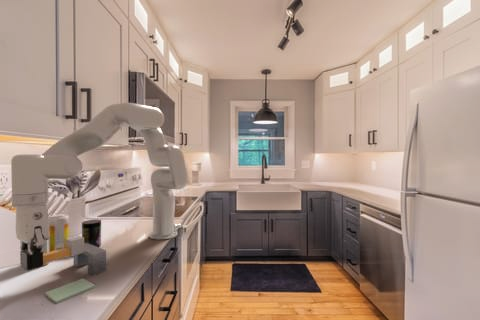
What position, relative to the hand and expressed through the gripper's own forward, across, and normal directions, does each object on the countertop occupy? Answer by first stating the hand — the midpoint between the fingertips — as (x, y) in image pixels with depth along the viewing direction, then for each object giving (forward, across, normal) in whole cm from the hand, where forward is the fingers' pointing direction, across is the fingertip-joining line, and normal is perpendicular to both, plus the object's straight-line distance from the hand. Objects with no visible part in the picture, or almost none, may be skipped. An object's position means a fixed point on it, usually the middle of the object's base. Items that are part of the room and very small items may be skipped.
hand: (31, 264), depth 65 cm
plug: (0, 0, -5) cm, 5 cm away
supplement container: (+7, +19, -24) cm, 32 cm away
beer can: (+7, +20, -13) cm, 25 cm away
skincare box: (+7, +17, -6) cm, 19 cm away
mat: (+6, -11, -5) cm, 13 cm away
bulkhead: (+7, 0, -15) cm, 16 cm away
